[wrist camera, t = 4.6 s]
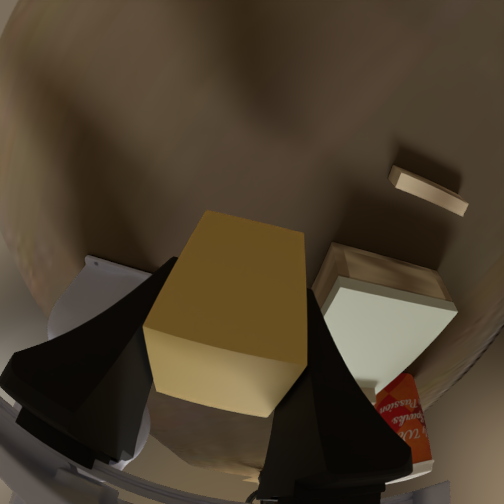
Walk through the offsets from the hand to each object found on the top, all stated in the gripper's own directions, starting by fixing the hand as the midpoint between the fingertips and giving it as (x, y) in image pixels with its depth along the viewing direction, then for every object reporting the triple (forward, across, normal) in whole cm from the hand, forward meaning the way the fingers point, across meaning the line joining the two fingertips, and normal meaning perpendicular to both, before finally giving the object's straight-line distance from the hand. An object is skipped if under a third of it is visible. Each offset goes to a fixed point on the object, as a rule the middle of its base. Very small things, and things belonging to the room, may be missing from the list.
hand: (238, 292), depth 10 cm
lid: (+5, -11, +11) cm, 16 cm away
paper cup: (+9, -22, +20) cm, 31 cm away
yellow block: (+2, 0, 0) cm, 2 cm away
